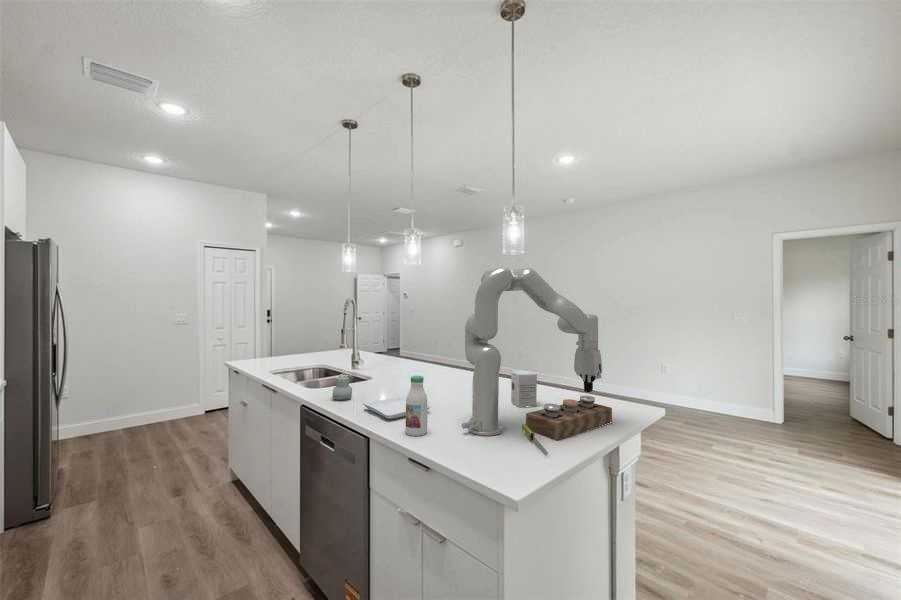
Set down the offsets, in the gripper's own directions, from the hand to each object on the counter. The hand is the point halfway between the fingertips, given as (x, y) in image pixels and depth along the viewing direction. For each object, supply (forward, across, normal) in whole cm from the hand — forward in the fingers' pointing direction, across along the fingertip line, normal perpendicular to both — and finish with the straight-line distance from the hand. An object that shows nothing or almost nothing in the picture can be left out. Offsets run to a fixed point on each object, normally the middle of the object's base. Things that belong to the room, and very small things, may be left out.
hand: (588, 391), depth 153 cm
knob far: (+8, 0, -1) cm, 8 cm away
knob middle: (+8, 0, -12) cm, 14 cm away
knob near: (+8, 0, -23) cm, 24 cm away
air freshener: (+10, -87, -68) cm, 111 cm away
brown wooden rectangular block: (+12, 0, -12) cm, 16 cm away
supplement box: (+12, -31, -4) cm, 34 cm away
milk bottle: (+11, -27, -64) cm, 70 cm away
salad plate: (+11, -54, -57) cm, 79 cm away
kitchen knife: (+11, +5, -38) cm, 40 cm away
